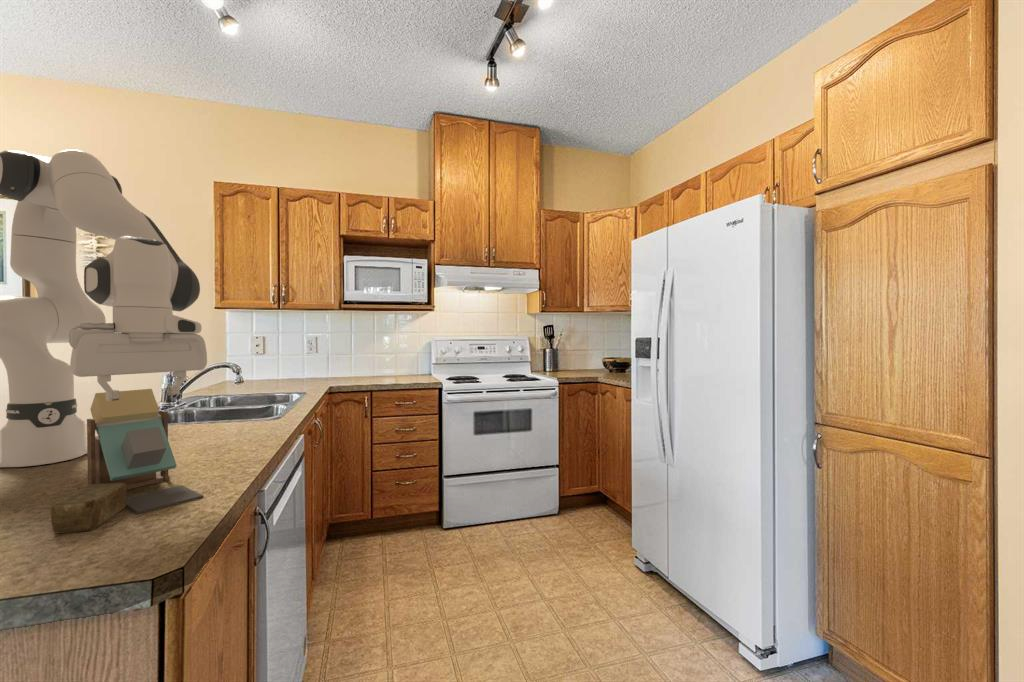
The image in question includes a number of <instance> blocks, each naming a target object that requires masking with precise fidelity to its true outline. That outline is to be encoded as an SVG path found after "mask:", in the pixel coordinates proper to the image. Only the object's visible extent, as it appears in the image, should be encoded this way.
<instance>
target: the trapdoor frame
mask: <svg viewBox="0 0 1024 682" xmlns="http://www.w3.org/2000/svg"><path fill="white" fill-rule="evenodd" d="M159 411H160V412H159V415H161V417H162V421H161V422H162V424H163V427H164V430H165V433H166V436H167V439H168V440H169V423H168V421H169V413H168V411H167V410H159ZM86 445H87V454H86V455H87V456H86V457H87V460H86V461H87V484H83V485H78V486H77V490H79V489H82V488H84V487H86V486H88V485H90V484H106V483H125V484H126V490H131V489H135V488H138V487H142V486H143V487H144V486H149V485H153V484H157V483H162V482H169V481H170V480H171V476H170V475H169V470H164V471H159V472H154V473H149V474H144V475H139V476H134V477H129V478H124V479H119V480H114V481H111V480H110V476H109V473H108V469H107V466H106V462H105V458H104V455H103V451H102V448H101V444H100V441H99V437H98V435H97V436H96V430H95V420H93V418H86Z"/></svg>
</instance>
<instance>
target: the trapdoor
mask: <svg viewBox="0 0 1024 682" xmlns="http://www.w3.org/2000/svg"><path fill="white" fill-rule="evenodd" d="M118 391H119V395H118V396H119V400H115V401H106V391H105V392H96V393H95V394H94V397H93V400H92V403H91V407H90V409H89V410H90V413H91V418H92V419H93V420H95V433H96V434H97V436H98V437H99V441H100V444H101V448H102V451H103V455H104V458H105V462H106V466H107V469H108V473H109V476H110V480H111V481H114V480H119V479H124V478H129V477H134V476H139V475H144V474H149V473H154V472H159V471H160V472H161V471H164V470H168V471H169V470H173V469H176V468H177V466H178V464H177V462H176V459H175V457H174V453H173V451H172V447H171V445H170V441H169V438H168V439H167V436H166V433H165V430H164V427H163V424H162V422H161V421H162V417H161V415H160V411H161V410H160V409H159V405H158V404H157V400H156V396H155V395H154V392H153V389H152V388H144V389H133V390H131V389H130V390H118ZM155 427H160V430H161V433H162V436H163V439H164V442H165V445H166V447H167V449H166V451H165V453H164V455H163V457H162V459H161V461H160V463H159V464H154V465H148V466H143V467H138V468H133V469H127V467H126V463H125V460H124V457H123V453H122V450H121V445H122V443H123V440H124V438H125V435H126V433H127V431H133V430H140V429H148V428H155Z"/></svg>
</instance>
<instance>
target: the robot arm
mask: <svg viewBox="0 0 1024 682" xmlns="http://www.w3.org/2000/svg"><path fill="white" fill-rule="evenodd" d="M0 196H3V197H6V198H8V199H11V200H13V201H17V204H16V206H15V210H14V214H13V218H12V224H11V232H10V233H11V239H10V240H11V241H10V260H9V261H10V262H9V265H10V268H11V269H12V271H13V272H14V273H15V274H16V275H17V276H19V278H20V277H21V278H22V279H23V280H25V281H28V282H30V283H31V284H32V285H33V287H34V288H35V290H36V292H37V297H35V296H34V297H33V296H18V295H17V296H16V295H0V360H1V361H2V363H3V366H4V368H5V371H6V374H7V383H8V396H9V397H8V399H9V402H8V403H7V404H6V408H5V413H6V416H5V417H6V419H7V422H6V424H5V425H3V426H2V427H1V429H0V468H21V467H22V468H23V467H32V466H41V465H46V464H47V465H49V464H55V463H59V462H64V461H68V460H73V459H77V458H79V457H82V456H85V455H87V431H86V423H85V420H84V419H82V418H80V417H78V416H77V414H76V413H78V410H77V409H78V408H77V407H78V403H77V398H75V390H74V389H75V385H74V381H75V380H74V378H75V377H74V376H76V377H78V378H79V377H80V378H85V377H87V378H88V377H96V378H97V379H96V380H97V383H98V384H99V386H100V387H101V388H102V389H103V390H104V391H105V392H106V401H115V400H119V396H118V395H119V391H120V390H117V389H113V388H112V387H111V386H110V384H109V382H112V376H120V375H136V374H139V375H140V374H154V373H171V372H173V376H174V377H175V378H176V379H175V380H174V382H173V384H172V385H167V395H168V396H179V395H180V394H181V388H180V387H181V386H182V384H183V382H184V381H185V379H186V378H187V372H190V371H191V372H192V371H203V370H204V369H205V368H206V367H207V365H208V354H207V352H208V351H207V347H206V341H205V339H204V338H203V336H202V335H200V333H201V331H202V324H201V323H200V322H198V321H194V320H191V319H188V318H184V317H181V316H178V315H174V314H173V312H182V311H185V310H186V309H188V308H189V307H191V306H192V305H194V303H195V302H196V301H197V300H198V298H199V296H200V293H201V285H200V284H201V283H200V281H199V278H198V276H197V275H196V274H197V273H195V272H194V270H193V269H192V268H191V267H190V266H189V265H188V264H187V263H186V262H184V261H183V260H182V259H181V258H180V256H179V255H178V253H177V252H176V251H175V250H174V248H173V246H172V245H171V244H170V242H169V241H168V239H167V238H166V237H165V235H164V234H163V233H162V231H161V230H160V229H159V228H158V226H157V224H156V223H155V222H154V221H153V220H152V218H150V217H149V216H147V215H146V214H145V213H143V212H142V211H140V210H139V209H138V208H136V207H135V206H134V205H133V204H132V203H131V202H130V201H129V200H127V198H125V196H124V195H123V189H122V185H121V183H120V181H119V180H118V179H117V178H116V177H115V176H114V175H112V174H111V173H110V171H108V169H107V168H106V166H105V165H104V164H103V163H102V162H101V161H100V159H98V158H97V157H95V156H94V155H92V154H91V153H89V152H87V151H83V150H80V149H65V150H61V151H58V152H56V153H55V154H53V155H52V156H51V157H49V156H42V155H36V154H31V153H28V152H26V151H21V150H11V149H10V150H8V149H7V150H2V151H0ZM77 228H78V229H80V230H81V231H84V232H86V233H89V234H93V235H96V236H100V237H103V238H107V239H111V240H115V241H114V245H113V249H112V251H111V252H110V253H108V254H107V255H106V256H103V257H98V258H96V259H94V260H93V261H91V262H89V263H88V264H87V265H86V266H85V267H84V270H83V271H84V272H83V287H84V288H82V286H81V284H80V281H79V278H78V274H77ZM83 289H84V290H83ZM93 301H94V302H95V303H96V304H95V303H94V302H93ZM97 304H98V305H97ZM99 305H101V306H106V307H112V322H110V323H109V322H106V321H107V320H106V316H105V313H104V312H103V310H102V309H101V308H100V306H99ZM67 343H68V344H69V346H71V348H72V350H71V355H70V364H69V363H67V362H65V361H63V360H61V359H59V358H56V357H54V356H53V354H51V353H50V351H49V349H48V345H47V344H67Z"/></svg>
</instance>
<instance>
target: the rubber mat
mask: <svg viewBox="0 0 1024 682" xmlns="http://www.w3.org/2000/svg"><path fill="white" fill-rule="evenodd" d="M203 498H204V494H202V493H199V492H198V491H195V490H193V489H190V488H189V487H186V486H184V485H182V484H181V485H177V486H172V487H169V488H164V489H159V490H155V491H150V492H147V493H142V494H138V495H133V496H128V497H126V507H125V508H127V509H129V510H131V511H132V512H134V513H135V514H137V515H140V514H144V513H148V512H151V511H156V510H159V509H163V508H167V507H170V506H171V507H172V506H175V505H178V504H183V503H187V502H191V501H195V500H198V499H203Z"/></svg>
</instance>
